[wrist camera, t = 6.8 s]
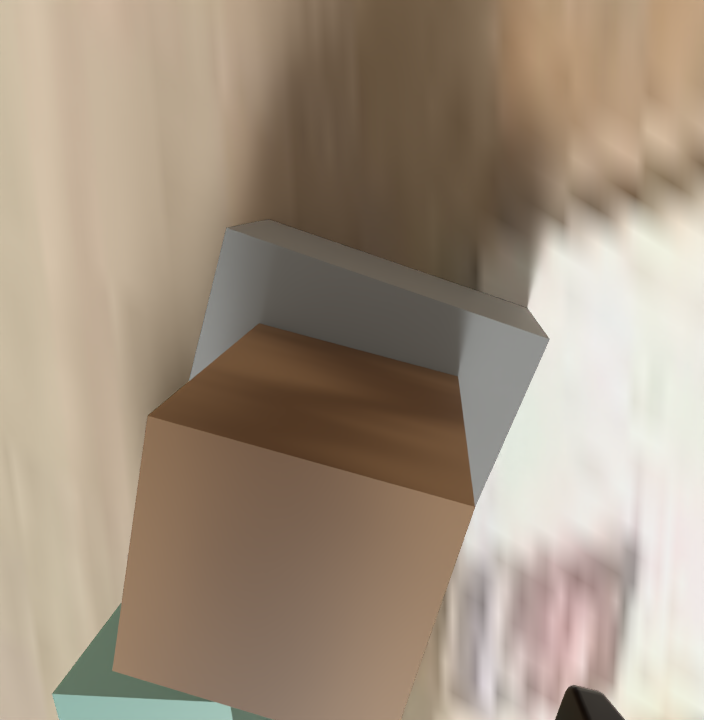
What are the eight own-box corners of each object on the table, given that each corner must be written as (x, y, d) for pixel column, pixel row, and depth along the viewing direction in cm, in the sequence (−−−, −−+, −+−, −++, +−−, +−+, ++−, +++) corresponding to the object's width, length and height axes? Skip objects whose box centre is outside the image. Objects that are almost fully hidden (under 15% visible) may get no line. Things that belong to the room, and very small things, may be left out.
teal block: (286, 561, 21) (230, 702, 15) (301, 677, 22) (254, 847, 17) (153, 560, 22) (52, 694, 16) (176, 672, 23) (89, 832, 17)
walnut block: (458, 376, 14) (475, 506, 9) (404, 547, 16) (388, 754, 10) (259, 323, 15) (147, 415, 9) (225, 497, 16) (112, 670, 10)
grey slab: (525, 305, 18) (549, 339, 14) (432, 526, 20) (430, 606, 16) (271, 218, 18) (226, 227, 14) (210, 446, 20) (157, 506, 17)
